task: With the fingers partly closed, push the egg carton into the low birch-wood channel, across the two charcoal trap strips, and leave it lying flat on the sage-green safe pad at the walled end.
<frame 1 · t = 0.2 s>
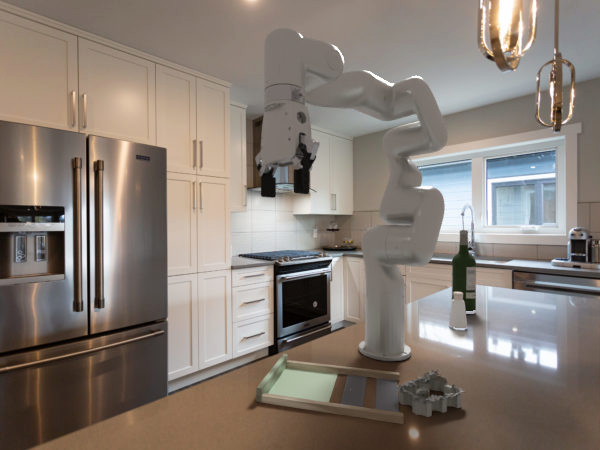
hand: (283, 195, 60), 37 cm above the countertop, tool pointing down, fingers open, 9 cm apart
egg carton: (430, 405, 58), on the countertop
safe pad: (333, 389, 63), on the countertop
salt shaker: (458, 328, 101), on the countertop
wine bottle: (463, 312, 120), on the countertop
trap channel: (333, 389, 63), on the countertop
trap strips: (370, 394, 61), on the countertop
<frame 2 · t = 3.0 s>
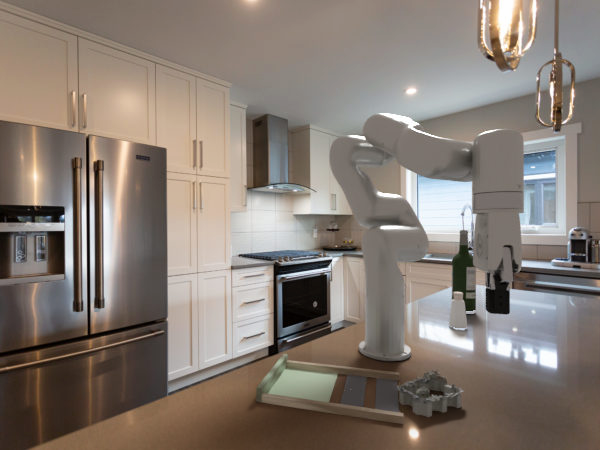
hand: (497, 312, 55), 17 cm above the countertop, tool pointing down, fingers closed
nothing on the countertop moved.
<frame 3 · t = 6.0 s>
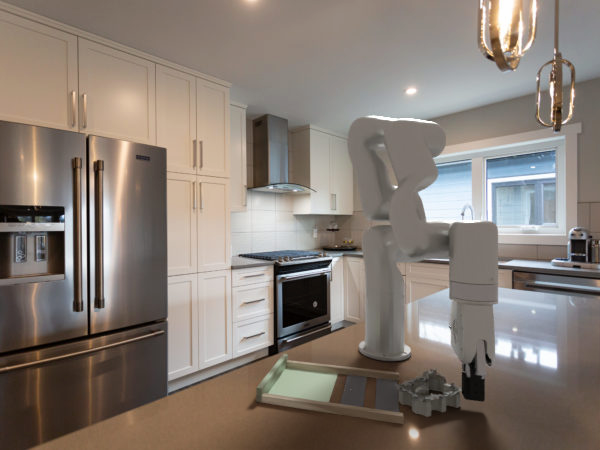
hand: (473, 397, 56), 2 cm above the countertop, tool pointing down, fingers closed
egg carton: (429, 403, 58), on the countertop, touching gripper, trap strips
everything else where it was.
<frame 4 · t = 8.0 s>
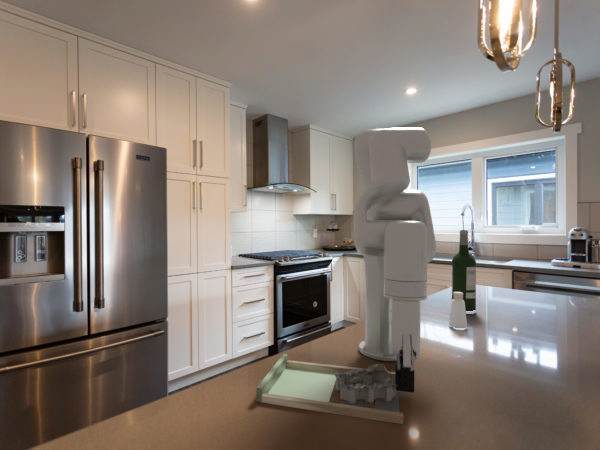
hand: (404, 389, 59), 2 cm above the countertop, tool pointing down, fingers closed
egg carton: (365, 394, 61), on the countertop
everything else where it was.
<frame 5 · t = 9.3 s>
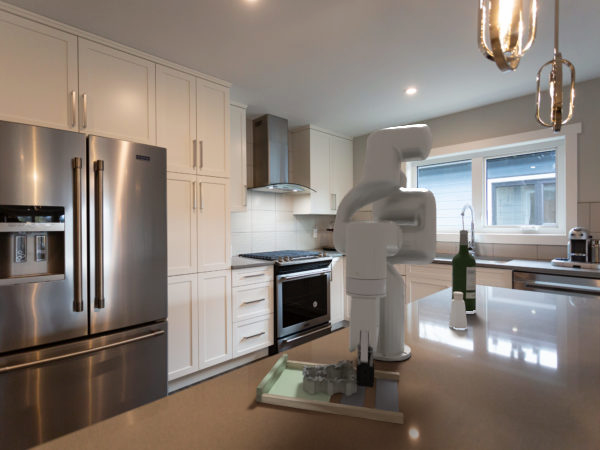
hand: (365, 384, 61), 2 cm above the countertop, tool pointing down, fingers closed
egg carton: (329, 388, 63), on the countertop
everything else where it was.
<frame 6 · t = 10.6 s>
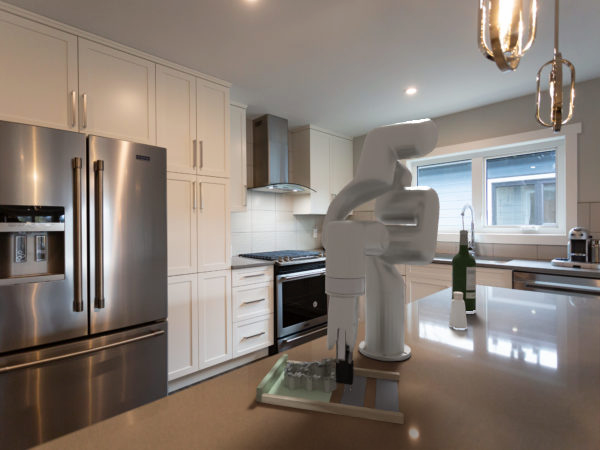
hand: (344, 381, 62), 2 cm above the countertop, tool pointing down, fingers closed
egg carton: (310, 384, 65), on the countertop, touching safe pad
everything else where it was.
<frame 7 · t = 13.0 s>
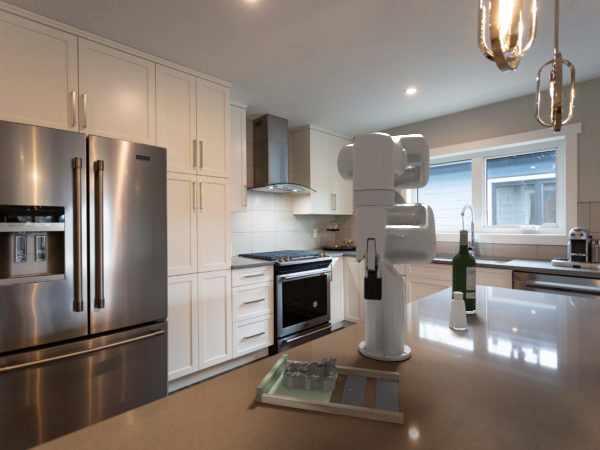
hand: (373, 298, 61), 18 cm above the countertop, tool pointing down, fingers closed
nothing on the countertop moved.
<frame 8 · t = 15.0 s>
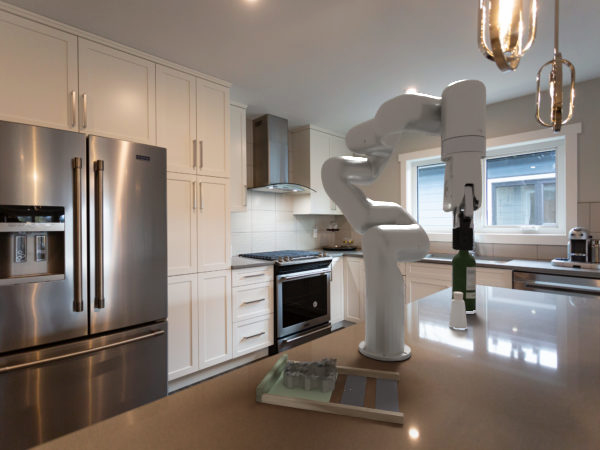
hand: (462, 249, 61), 27 cm above the countertop, tool pointing down, fingers closed
nothing on the countertop moved.
at the end: egg carton inside the target area (1.6 cm from its centre), on the countertop; egg carton tilted 0° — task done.
